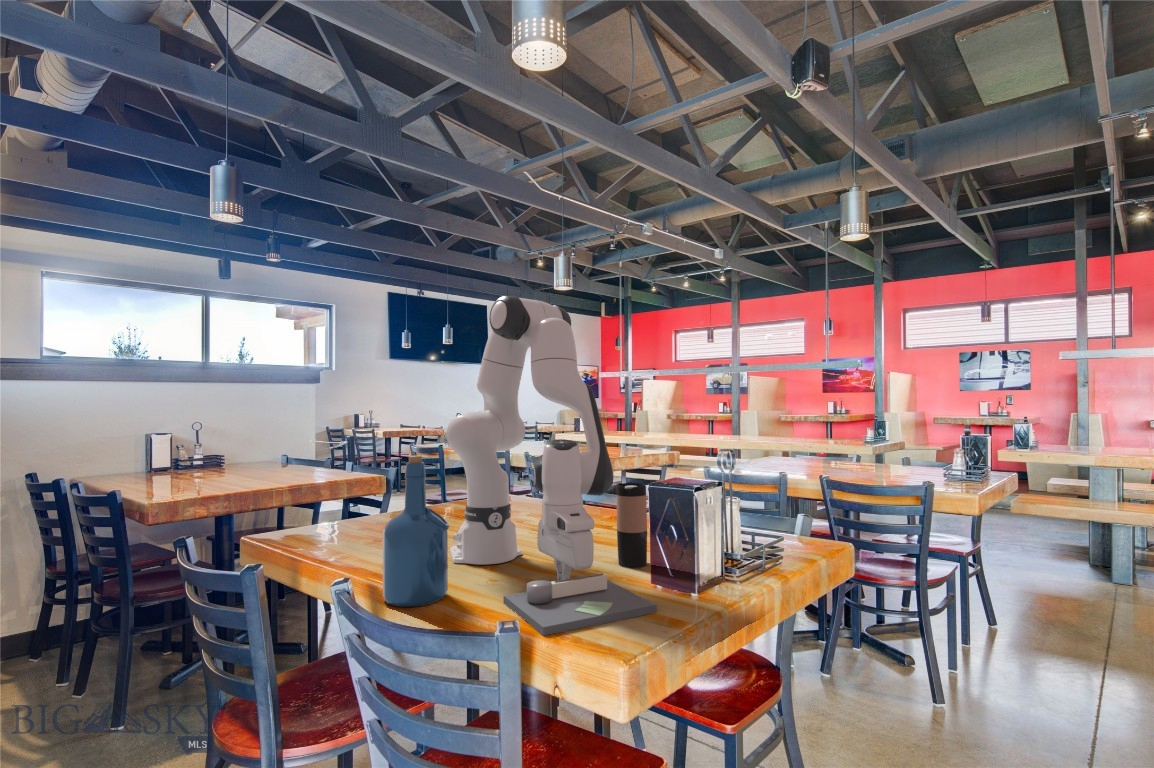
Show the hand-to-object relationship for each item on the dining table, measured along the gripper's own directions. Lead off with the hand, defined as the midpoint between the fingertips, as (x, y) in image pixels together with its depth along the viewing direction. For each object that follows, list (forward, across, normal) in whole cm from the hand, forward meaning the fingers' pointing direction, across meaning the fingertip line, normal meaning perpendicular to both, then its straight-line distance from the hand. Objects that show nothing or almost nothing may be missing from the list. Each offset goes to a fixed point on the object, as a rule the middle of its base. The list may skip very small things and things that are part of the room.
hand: (563, 581), depth 126 cm
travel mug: (+3, -13, +26) cm, 29 cm away
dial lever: (+1, +6, -2) cm, 6 cm away
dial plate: (+3, +9, -1) cm, 9 cm away
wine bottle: (+3, -13, -28) cm, 31 cm away
